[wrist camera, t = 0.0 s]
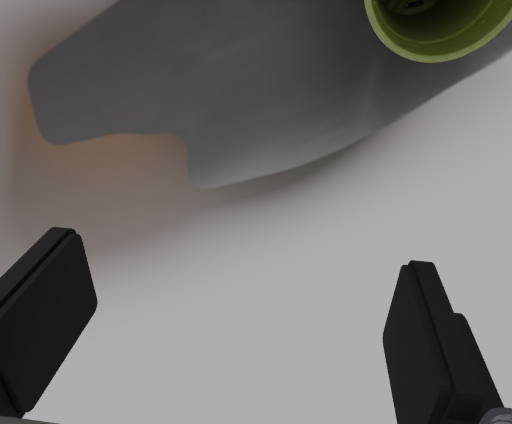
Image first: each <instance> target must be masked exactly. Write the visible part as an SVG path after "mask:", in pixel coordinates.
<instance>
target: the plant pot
mask: <svg viewBox="0 0 512 424" xmlns="http://www.w3.org/2000/svg"><path fill="white" fill-rule="evenodd" d="M418 1H421V0H364V3H365V9H366V13H367V16H368V19H369V21H370V24H371V26H372V28H373V30H374V31H375V33H376V35H377V36H378V37H379V39H380V40H381V41H382V42H383V43H384V44H385V45H386V46H387V47H388V48H389V49H391V50H392V51H393V52H395V53H396V54H398V55H400V56H402V57H404V58H407V59H410V60H413V61H418V62H425V63H436V62H444V61H449V60H453V59H457V58H460V57H462V56H465V55H467V54H469V53H471V52H473V51H475V50H476V49H478V48H480V47H481V46H483V45H485V44H486V43H487V42H489V41H490V40H491V39H493V38H494V37H495V36H496V35H497V34H498V33H499V32H500V31H501V30H502V29H503V28H504V27H505V26H506V25H507V24H508V23H509V22H510V20H511V19H512V0H422V1H423V4H420V5H418V6H415V7H408V4H410V3H415V2H418Z"/></svg>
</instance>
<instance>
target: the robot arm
mask: <svg viewBox="0 0 512 424" xmlns="http://www.w3.org/2000/svg"><path fill="white" fill-rule="evenodd" d="M96 308H97V297H96V293H95V289H94V285H93V281H92V278H91V273H90V270H89V266H88V262H87V258H86V254H85V250H84V246H83V242H82V239H81V236H80V235H79V234H76V231H75V230H74V229H69V228H59V227H53V228H51V229H49V230H48V231H47V232H46V234H44V235H43V236H42V237H41V238H40V239H39V240H38V241H37V242H36V243H35V244H34V245H33V246H32V247H31V248H30V249H29V250H28V251H27V252H26V253H25V254H24V255H23V256H22V257H21V258H20V259H19V260H18V261H17V262H16V263H15V264H14V265H13V266H12V267H11V268H10V269H9V270H8V271H7V272H6V273H5V274H4V275H3V276H2V277H1V278H0V424H57V423H49V422H43V421H35V420H28V419H22V417H23V416H24V414H25V413H26V412H29V411H31V410H32V409H33V408H34V406H35V405H36V403H37V402H38V400H39V399H40V397H41V396H42V394H43V392H44V391H45V389H46V388H47V386H48V385H49V383H50V381H51V380H52V378H53V377H54V375H55V374H56V372H57V370H58V369H59V367H60V366H61V364H62V363H63V361H64V360H65V358H66V356H67V355H68V353H69V352H70V350H71V349H72V347H73V345H74V344H75V342H76V341H77V339H78V338H79V336H80V334H81V333H82V331H83V330H84V328H85V327H86V325H87V324H88V322H89V320H90V319H91V317H92V316H93V314H94V313H95V311H96ZM383 347H384V352H385V358H386V363H387V369H388V374H389V379H390V385H391V391H392V396H393V402H394V407H395V413H396V419H397V424H512V409H511V408H504V405H503V403H502V401H501V399H500V396H499V394H498V392H497V389H496V387H495V385H494V382H493V380H492V378H491V376H490V373H489V371H488V369H487V366H486V364H485V361H484V359H483V357H482V354H481V352H480V350H479V347H478V345H477V343H476V340H475V338H474V336H473V334H472V331H471V329H470V327H469V324H468V322H467V320H466V318H465V317H464V316H463V315H462V314H460V313H454V312H453V310H452V307H451V305H450V302H449V300H448V297H447V295H446V293H445V290H444V287H443V285H442V282H441V280H440V277H439V275H438V272H437V270H436V267H435V265H434V263H432V262H424V261H414V260H411V261H410V262H409V264H408V265H402V267H401V270H400V273H399V277H398V281H397V284H396V288H395V291H394V296H393V299H392V302H391V306H390V310H389V313H388V317H387V321H386V324H385V328H384V332H383Z"/></svg>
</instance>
